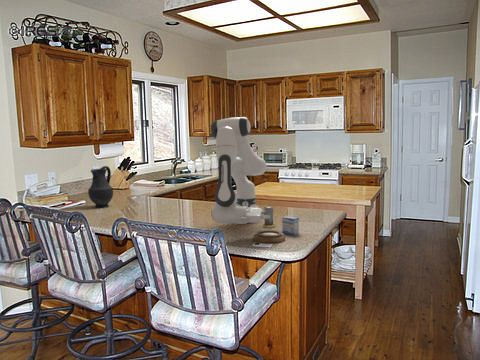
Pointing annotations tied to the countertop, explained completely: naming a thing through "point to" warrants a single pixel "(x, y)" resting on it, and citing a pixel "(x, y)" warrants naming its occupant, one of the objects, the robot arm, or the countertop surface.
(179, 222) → the countertop surface
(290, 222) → the medicine box
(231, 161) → the robot arm
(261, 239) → the ring
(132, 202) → the countertop surface
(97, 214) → the countertop surface
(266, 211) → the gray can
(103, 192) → the pitcher
